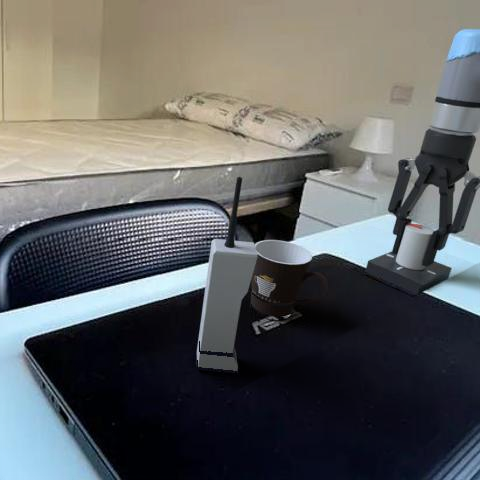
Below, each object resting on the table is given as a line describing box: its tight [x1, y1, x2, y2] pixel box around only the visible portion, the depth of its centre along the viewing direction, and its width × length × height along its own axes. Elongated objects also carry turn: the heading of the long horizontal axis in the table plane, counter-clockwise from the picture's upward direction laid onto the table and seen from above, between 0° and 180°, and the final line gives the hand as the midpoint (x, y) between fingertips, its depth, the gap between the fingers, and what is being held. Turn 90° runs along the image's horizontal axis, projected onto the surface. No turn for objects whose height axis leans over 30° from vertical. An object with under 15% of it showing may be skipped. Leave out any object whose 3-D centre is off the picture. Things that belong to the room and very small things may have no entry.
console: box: [364, 251, 453, 296], centre depth 92 cm, size 10×12×3 cm
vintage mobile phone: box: [196, 176, 258, 372], centre depth 59 cm, size 4×5×25 cm
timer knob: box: [396, 222, 436, 270], centre depth 90 cm, size 5×5×7 cm
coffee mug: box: [250, 239, 330, 316], centre depth 75 cm, size 12×9×10 cm
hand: (412, 258), depth 91 cm, fingers closed on timer knob, 5 cm apart
